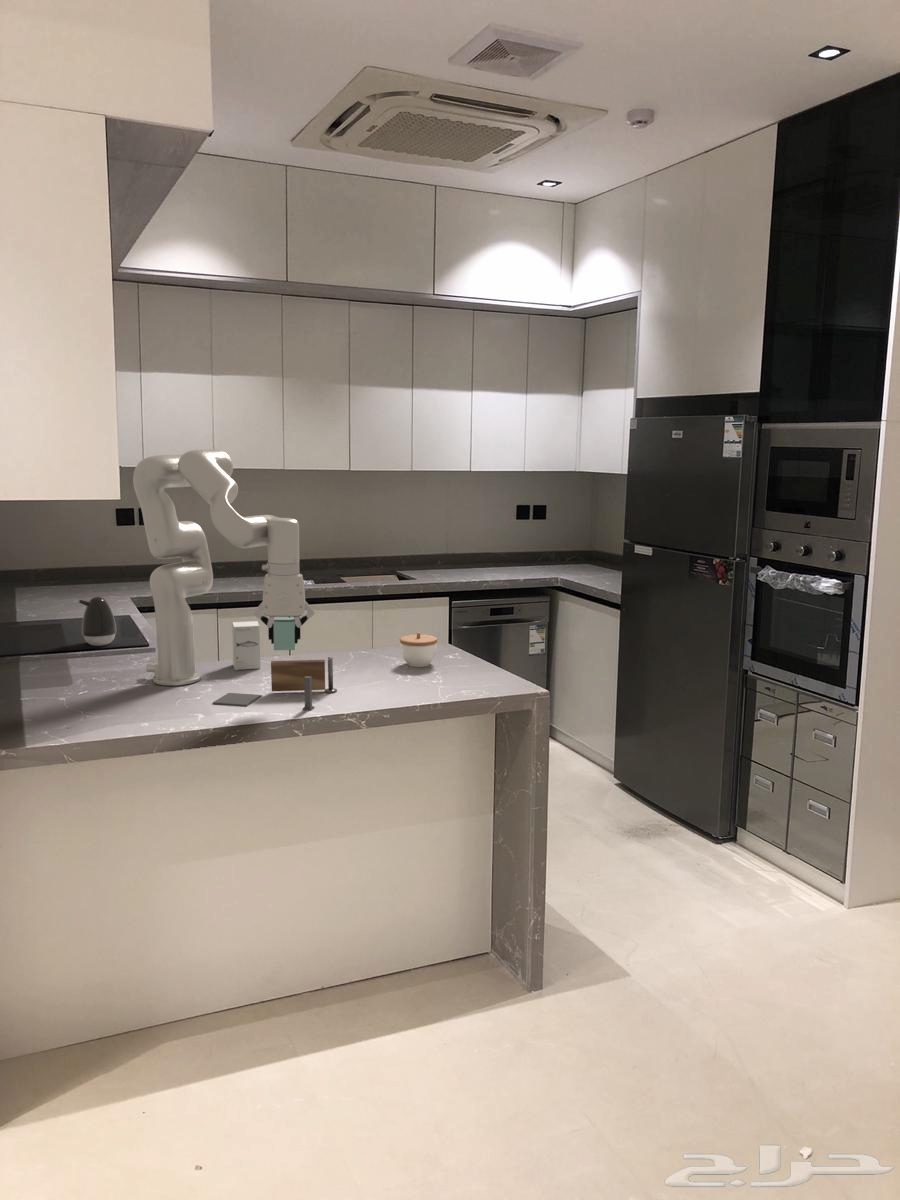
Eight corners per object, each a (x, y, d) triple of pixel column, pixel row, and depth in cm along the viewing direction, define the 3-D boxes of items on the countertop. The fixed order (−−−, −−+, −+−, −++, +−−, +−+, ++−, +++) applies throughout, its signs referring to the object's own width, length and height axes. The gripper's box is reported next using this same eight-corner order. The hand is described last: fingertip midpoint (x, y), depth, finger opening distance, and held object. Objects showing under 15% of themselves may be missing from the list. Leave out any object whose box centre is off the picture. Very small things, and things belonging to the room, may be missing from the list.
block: (273, 650, 232) (273, 622, 231) (274, 645, 237) (274, 617, 236) (294, 650, 233) (294, 622, 232) (295, 645, 238) (295, 617, 236)
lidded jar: (395, 667, 272) (395, 635, 270) (406, 659, 282) (405, 628, 280) (431, 670, 269) (431, 637, 268) (441, 661, 280) (441, 630, 278)
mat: (212, 703, 236) (212, 702, 236) (228, 694, 244) (228, 692, 244) (246, 706, 234) (246, 704, 234) (261, 696, 242) (261, 694, 242)
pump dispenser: (83, 641, 303) (79, 594, 300) (117, 639, 306) (114, 593, 304) (81, 648, 294) (77, 600, 291) (116, 646, 297) (113, 598, 294)
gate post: (322, 692, 246) (322, 658, 244) (327, 689, 249) (326, 655, 248) (334, 693, 245) (333, 659, 244) (338, 690, 248) (338, 656, 247)
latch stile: (302, 709, 231) (301, 677, 230) (305, 707, 233) (305, 675, 232) (311, 710, 231) (310, 678, 229) (314, 707, 233) (313, 676, 231)
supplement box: (234, 670, 268) (232, 626, 266) (233, 664, 275) (231, 621, 273) (261, 669, 270) (259, 625, 268) (259, 663, 277) (257, 620, 275)
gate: (272, 689, 246) (271, 661, 245) (325, 687, 248) (324, 659, 247) (271, 691, 244) (270, 663, 243) (325, 689, 246) (324, 661, 245)
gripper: (246, 571, 227) (248, 646, 230) (319, 571, 229) (319, 645, 232) (249, 566, 234) (250, 639, 237) (319, 567, 236) (319, 638, 240)
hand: (284, 641), depth 235 cm, fingers closed on block, 5 cm apart
